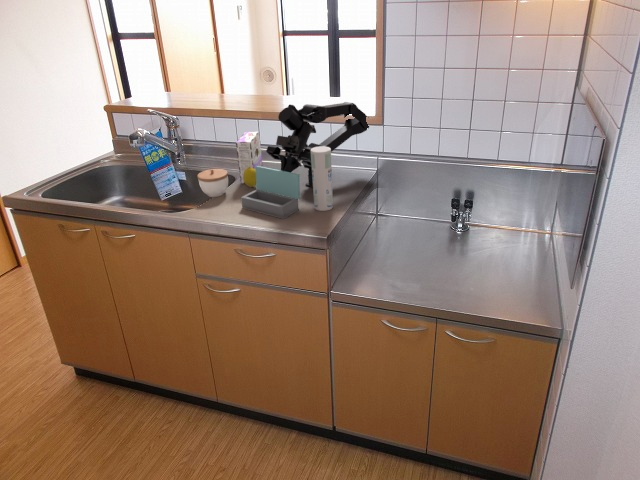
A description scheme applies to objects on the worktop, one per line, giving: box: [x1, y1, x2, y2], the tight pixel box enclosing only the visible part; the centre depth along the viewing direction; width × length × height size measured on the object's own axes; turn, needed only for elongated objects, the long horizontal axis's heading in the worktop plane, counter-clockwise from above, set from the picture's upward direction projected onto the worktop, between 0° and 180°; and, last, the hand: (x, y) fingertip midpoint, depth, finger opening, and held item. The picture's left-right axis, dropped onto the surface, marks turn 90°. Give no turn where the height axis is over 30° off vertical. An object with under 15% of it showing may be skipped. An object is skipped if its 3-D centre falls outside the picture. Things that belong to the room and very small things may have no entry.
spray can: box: [311, 146, 334, 212], centre depth 167 cm, size 6×6×20 cm
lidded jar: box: [197, 168, 229, 198], centre depth 186 cm, size 11×11×9 cm
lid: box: [255, 166, 301, 200], centre depth 173 cm, size 8×18×1 cm
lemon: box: [243, 167, 256, 189], centre depth 190 cm, size 6×6×8 cm
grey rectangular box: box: [240, 189, 299, 220], centre depth 172 cm, size 8×18×4 cm, turn 55°
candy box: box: [235, 131, 264, 184], centre depth 198 cm, size 14×6×16 cm, turn 172°
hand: (281, 177), depth 174 cm, fingers closed
